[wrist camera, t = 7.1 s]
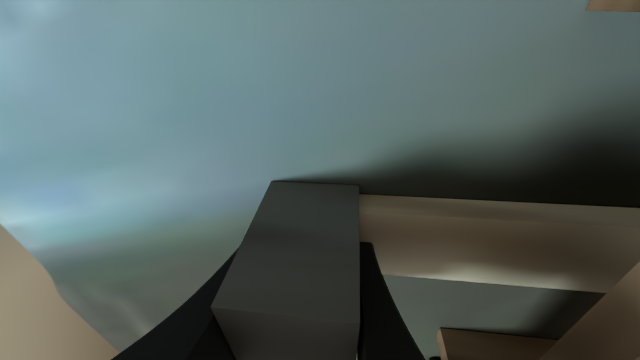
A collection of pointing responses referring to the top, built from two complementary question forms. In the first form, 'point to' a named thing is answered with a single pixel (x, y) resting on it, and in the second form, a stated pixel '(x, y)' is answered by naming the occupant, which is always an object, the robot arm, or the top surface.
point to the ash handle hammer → (399, 259)
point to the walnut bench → (588, 333)
